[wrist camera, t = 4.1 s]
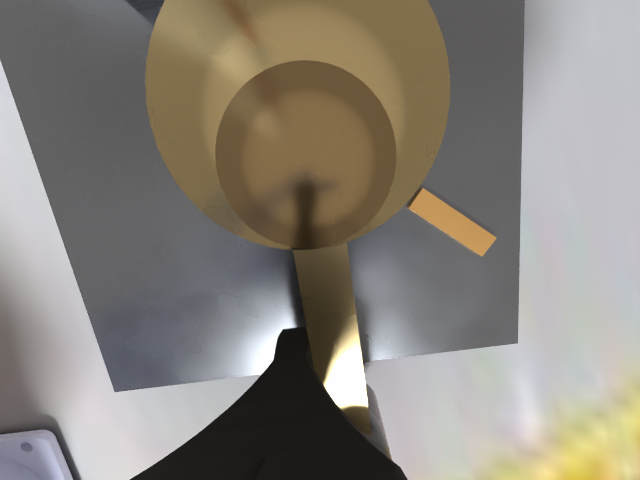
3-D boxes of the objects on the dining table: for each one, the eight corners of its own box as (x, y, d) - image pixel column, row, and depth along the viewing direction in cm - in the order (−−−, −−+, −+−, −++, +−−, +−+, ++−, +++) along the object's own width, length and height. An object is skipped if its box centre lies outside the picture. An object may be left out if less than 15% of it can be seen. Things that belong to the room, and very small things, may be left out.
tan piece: (163, 11, 8) (53, -102, 5) (407, -30, 8) (472, -180, 5) (263, 440, 12) (240, 553, 8) (437, 418, 12) (488, 525, 8)
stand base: (130, 375, 13) (64, 446, 9) (-13, -65, 9) (-199, -197, 6) (501, 329, 12) (569, 387, 9) (504, -151, 9) (618, -346, 5)
